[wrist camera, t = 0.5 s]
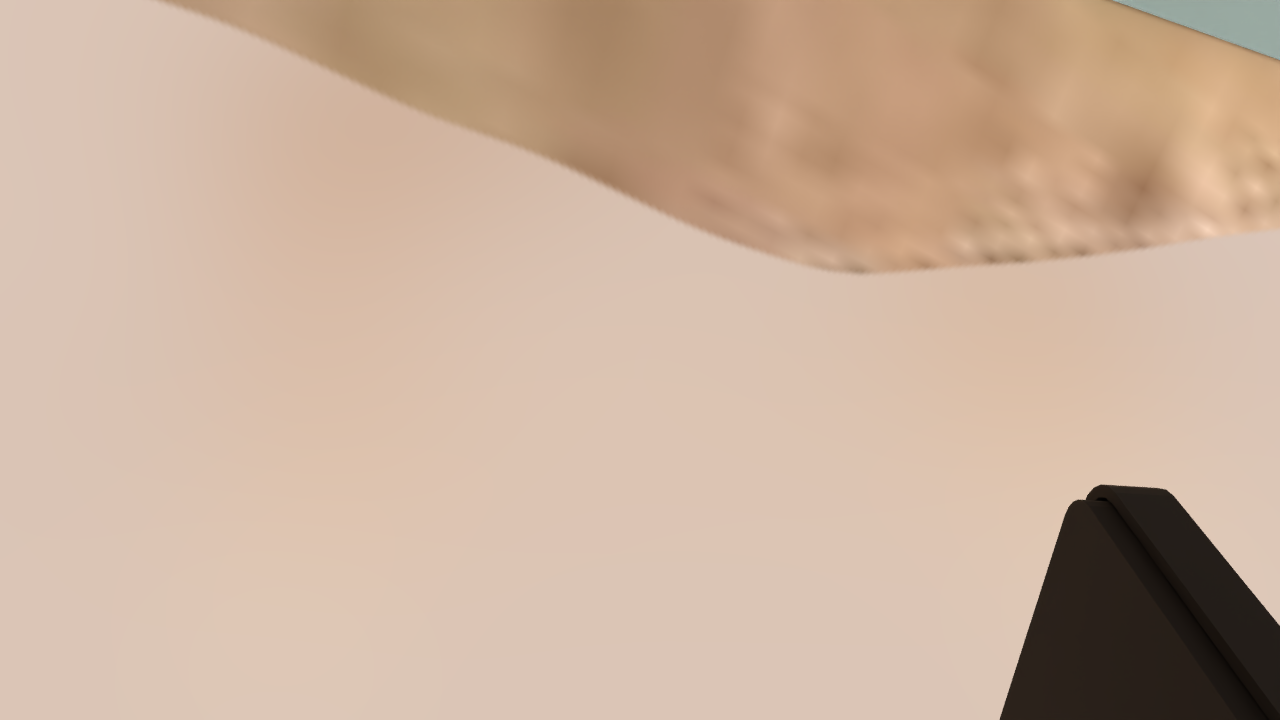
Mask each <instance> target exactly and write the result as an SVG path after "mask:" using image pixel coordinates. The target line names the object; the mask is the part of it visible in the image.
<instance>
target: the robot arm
mask: <svg viewBox="0 0 1280 720" xmlns="http://www.w3.org/2000/svg"><path fill="white" fill-rule="evenodd" d="M1000 720H1280V626H1279V625H1278V623H1277V622H1276V621H1275V620H1274V618H1273V617H1272V616H1271V615H1270V613H1269V612H1268V611H1267V610H1266V609H1265V607H1264V606H1263V605H1262V604H1261V602H1260V601H1259V600H1258V599H1257V598H1256V596H1255V595H1254V594H1253V593H1252V591H1251V590H1250V589H1249V588H1248V587H1247V585H1246V584H1245V583H1244V582H1243V580H1242V579H1241V578H1240V577H1239V575H1238V574H1237V573H1236V572H1235V571H1234V570H1233V568H1232V567H1231V566H1230V564H1229V563H1228V562H1227V561H1226V559H1225V558H1224V557H1223V556H1222V555H1221V553H1220V552H1219V551H1218V550H1217V549H1216V547H1215V546H1214V545H1213V544H1212V542H1211V541H1210V540H1209V539H1208V537H1207V536H1206V535H1205V534H1204V532H1203V531H1202V530H1201V529H1200V528H1199V526H1198V525H1197V524H1196V523H1195V521H1194V520H1193V519H1192V518H1191V517H1190V515H1189V514H1188V513H1187V512H1186V510H1185V509H1184V508H1183V507H1182V506H1181V504H1180V503H1179V502H1178V501H1177V499H1176V498H1175V497H1174V496H1173V495H1172V494H1170V493H1169V492H1168V491H1167V490H1164V489H1160V488H1147V487H1130V486H1115V485H1099V486H1097V487H1095V488H1093V489H1092V491H1091V492H1090V493H1089V494H1088V495H1087V498H1086V500H1077V501H1074V502H1073V503H1072V504H1071V505H1070V506H1069V507H1068V510H1067V512H1066V514H1065V517H1064V520H1063V523H1062V526H1061V529H1060V532H1059V536H1058V539H1057V542H1056V545H1055V548H1054V552H1053V554H1052V558H1051V560H1050V564H1049V567H1048V570H1047V573H1046V576H1045V579H1044V582H1043V586H1042V589H1041V592H1040V595H1039V598H1038V602H1037V604H1036V608H1035V611H1034V614H1033V617H1032V620H1031V623H1030V626H1029V629H1028V632H1027V636H1026V639H1025V642H1024V645H1023V648H1022V651H1021V654H1020V657H1019V660H1018V664H1017V667H1016V670H1015V673H1014V676H1013V679H1012V683H1011V686H1010V689H1009V692H1008V695H1007V698H1006V701H1005V705H1004V708H1003V711H1002V714H1001V717H1000Z"/></svg>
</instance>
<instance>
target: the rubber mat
mask: <svg viewBox="0 0 1280 720" xmlns="http://www.w3.org/2000/svg"><path fill="white" fill-rule="evenodd" d="M1113 1H1116V2H1119V3H1122V4H1124V5H1127V6H1130V7H1133V8H1136V9H1138V10H1141V11H1144V12H1147V13H1150V14H1152V15H1155V16H1158V17H1161V18H1164V19H1166V20H1169V21H1172V22H1175V23H1178V24H1180V25H1183V26H1186V27H1189V28H1192V29H1194V30H1197V31H1200V32H1203V33H1206V34H1208V35H1211V36H1214V37H1217V38H1220V39H1222V40H1225V41H1228V42H1231V43H1234V44H1236V45H1239V46H1242V47H1245V48H1248V49H1250V50H1253V51H1256V52H1259V53H1262V54H1264V55H1267V56H1270V57H1273V58H1276V59H1278V60H1280V0H1113Z"/></svg>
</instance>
